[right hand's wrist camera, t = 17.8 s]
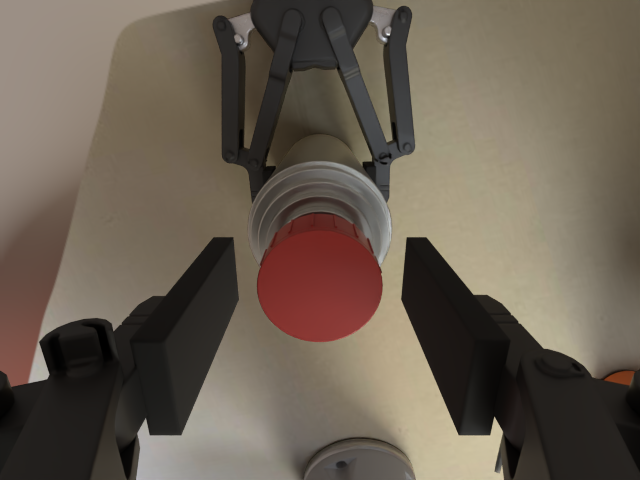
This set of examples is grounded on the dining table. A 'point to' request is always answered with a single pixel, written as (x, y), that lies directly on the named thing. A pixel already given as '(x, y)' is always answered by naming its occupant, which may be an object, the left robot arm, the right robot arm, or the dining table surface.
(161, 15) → the dining table surface
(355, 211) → the bottle
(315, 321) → the cap
